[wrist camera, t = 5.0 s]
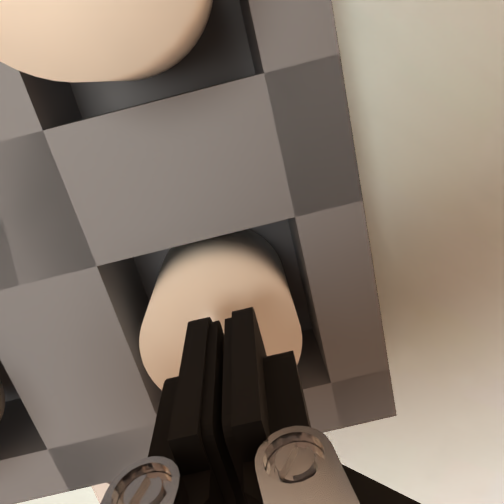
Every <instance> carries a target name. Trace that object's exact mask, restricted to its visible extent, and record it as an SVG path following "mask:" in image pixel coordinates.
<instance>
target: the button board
mask: <svg viewBox="0 0 504 504" xmlns="http://www.w3.org/2000/svg"><path fill="white" fill-rule="evenodd" d="M245 229H249V230H251V231H253V232H255V233H257V234H258V235H260V236H261V237H263V238H264V239H265V240H266V241H267V242H268V243H269V244H270V245H271V246H272V247H273V248H274V250H275V251H276V253H277V255H278V257H279V259H280V261H281V264H282V267H283V270H284V273H285V277H286V280H287V283H288V287H289V290H290V293H291V296H292V300H293V303H294V306H295V310H296V313H297V316H298V319H299V323H300V326H301V332H302V349H301V355H300V358H299V362H298V364H297V368H298V372H299V376H300V380H301V384H302V388H303V393H304V397H305V401H306V406H307V410H308V415H309V420H310V424H311V428H314V429H317V430H319V431H320V432H322V433H323V432H327V431H331V430H336V429H340V428H344V427H349V426H353V425H357V424H362V423H366V422H370V421H375V420H379V419H383V418H388V417H392V416H396V409H395V403H394V396H393V390H392V384H391V377H390V371H389V365H388V358H387V352H386V346H385V339H384V333H383V326H382V320H381V314H380V307H379V301H378V295H377V288H376V282H375V275H374V269H373V263H372V256H371V250H370V244H369V237H368V231H367V225H366V218H365V212H364V205H363V199H362V193H361V186H360V180H359V174H358V167H357V161H356V154H355V148H354V142H353V135H352V129H351V123H350V116H349V110H348V104H347V97H346V91H345V84H344V78H343V72H342V65H341V59H340V53H339V46H338V40H337V34H336V27H335V21H334V14H333V8H332V2H331V0H213V3H212V9H211V12H210V15H209V19H208V22H207V24H206V26H205V29H204V31H203V33H202V35H201V37H200V38H199V40H198V41H197V43H196V45H195V46H194V47H193V48H192V50H191V51H190V52H189V53H188V54H187V55H186V56H185V57H184V58H183V59H182V60H181V61H180V62H179V63H177V64H176V65H174V66H173V67H172V68H170V69H169V70H167V71H165V72H163V73H161V74H159V75H156V76H153V77H150V78H146V79H141V80H134V81H104V82H62V81H53V80H48V79H44V78H39V77H35V76H32V75H30V74H27V73H24V72H21V71H18V70H16V69H14V68H12V67H10V66H8V65H6V64H4V63H2V62H0V380H1V383H2V385H3V389H4V394H5V408H4V413H3V416H2V418H1V421H0V504H16V503H20V502H24V501H29V500H33V499H37V498H42V497H46V496H50V495H55V494H59V493H63V492H68V491H72V490H76V489H81V488H85V487H89V486H94V485H98V484H102V483H107V482H111V481H112V480H113V479H114V478H115V477H116V476H117V475H118V474H119V473H120V472H121V471H122V470H123V469H125V468H126V467H128V466H129V465H130V464H132V463H134V462H136V461H138V460H141V459H143V458H147V457H148V453H149V449H150V444H151V440H152V435H153V430H154V426H155V421H156V416H157V412H158V407H159V403H160V398H161V393H162V390H161V389H160V388H159V387H158V386H157V385H156V384H155V383H154V382H153V380H152V379H151V377H150V376H149V374H148V373H147V371H146V369H145V367H144V365H143V362H142V358H141V354H140V348H139V336H140V330H141V326H142V323H143V319H144V316H145V314H146V311H147V308H148V305H149V302H150V299H151V296H152V293H153V290H154V287H155V284H156V281H157V278H158V275H159V272H160V269H161V266H162V263H163V260H164V258H165V256H166V254H167V253H168V251H169V250H170V248H172V247H177V246H181V245H185V244H189V243H193V242H197V241H201V240H205V239H209V238H213V237H217V236H221V235H225V234H229V233H233V232H237V231H241V230H245Z"/></svg>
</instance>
